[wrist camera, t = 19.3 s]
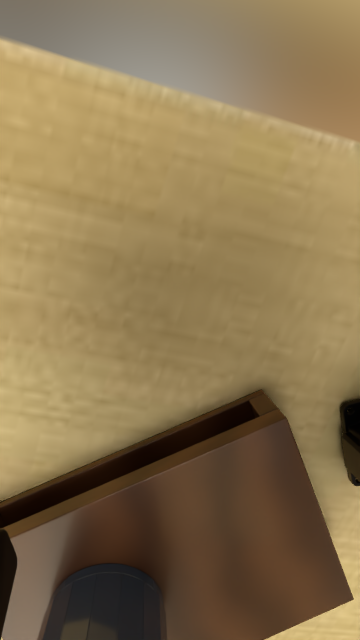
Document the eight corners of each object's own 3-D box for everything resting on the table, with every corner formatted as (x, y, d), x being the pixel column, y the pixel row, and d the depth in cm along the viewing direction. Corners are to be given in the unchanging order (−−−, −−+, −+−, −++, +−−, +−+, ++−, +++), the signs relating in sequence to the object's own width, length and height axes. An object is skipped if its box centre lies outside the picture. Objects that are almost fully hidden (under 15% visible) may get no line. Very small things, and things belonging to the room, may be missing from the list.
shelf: (261, 389, 22) (286, 417, 18) (321, 545, 25) (354, 599, 21) (-15, 508, 21) (-52, 564, 17) (79, 652, 24) (66, 728, 20)
